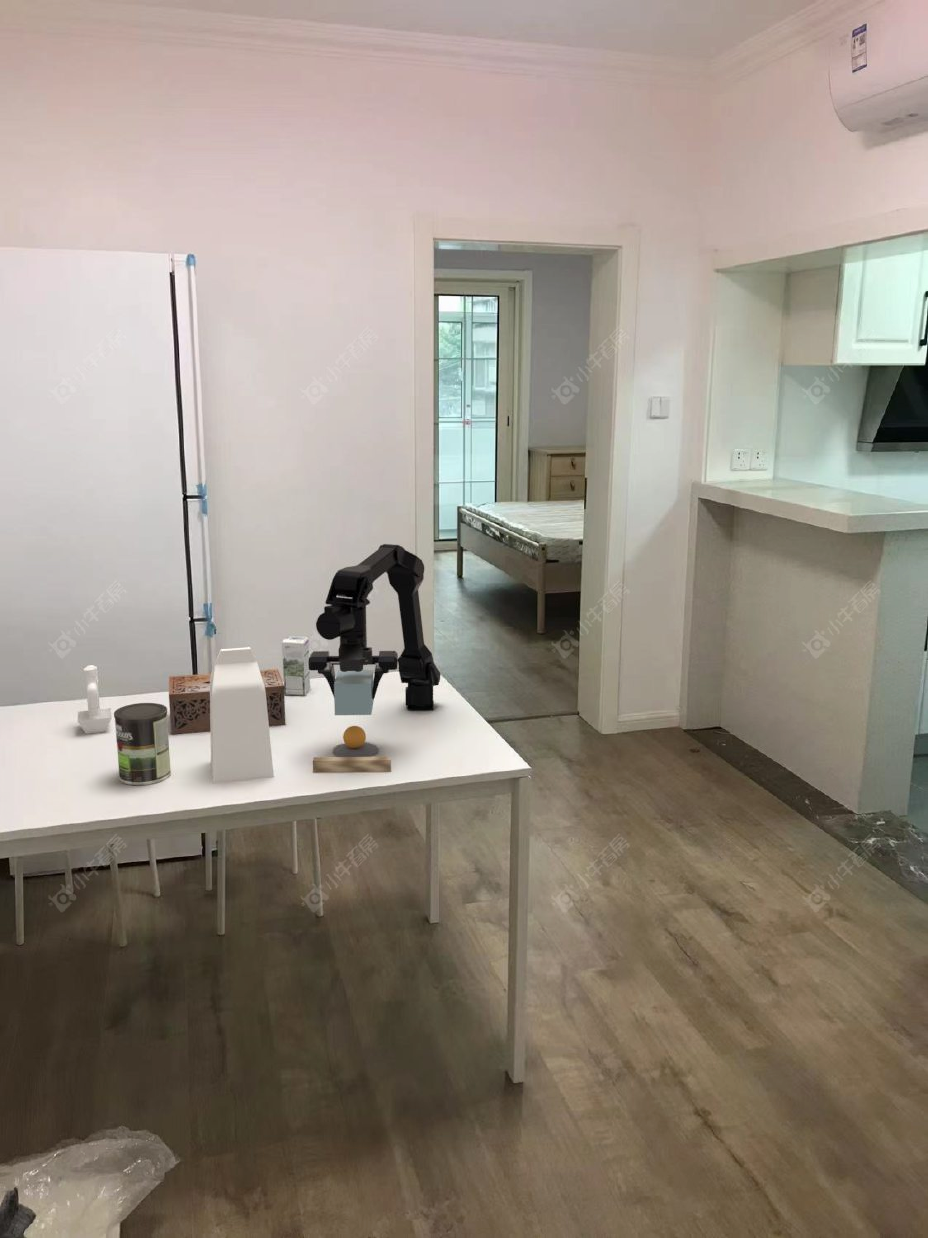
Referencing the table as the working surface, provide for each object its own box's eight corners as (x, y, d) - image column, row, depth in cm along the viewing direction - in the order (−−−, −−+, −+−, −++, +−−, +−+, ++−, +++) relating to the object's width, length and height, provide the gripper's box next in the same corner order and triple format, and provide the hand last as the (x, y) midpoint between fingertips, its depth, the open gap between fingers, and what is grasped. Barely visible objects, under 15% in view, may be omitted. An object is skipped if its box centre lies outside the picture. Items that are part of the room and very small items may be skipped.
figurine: (79, 738, 225) (73, 674, 222) (79, 725, 234) (73, 663, 230) (112, 734, 228) (107, 671, 224) (111, 721, 236) (106, 660, 233)
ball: (363, 744, 216) (366, 751, 221) (365, 723, 218) (367, 730, 223) (340, 744, 216) (343, 751, 221) (342, 722, 218) (345, 729, 223)
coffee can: (133, 790, 197) (128, 722, 194) (110, 775, 204) (104, 710, 201) (181, 776, 204) (176, 710, 201) (156, 762, 211) (152, 699, 208)
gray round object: (379, 742, 223) (379, 741, 223) (377, 759, 214) (377, 758, 214) (334, 742, 223) (334, 742, 223) (330, 759, 213) (330, 758, 213)
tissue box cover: (171, 736, 228) (168, 694, 225) (171, 716, 241) (169, 676, 239) (285, 726, 235) (283, 685, 232) (279, 707, 248) (278, 668, 246)
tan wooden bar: (390, 767, 209) (390, 756, 208) (390, 771, 207) (390, 760, 206) (314, 768, 208) (313, 757, 208) (313, 772, 206) (312, 760, 206)
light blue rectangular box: (373, 699, 222) (373, 669, 220) (371, 714, 211) (370, 684, 209) (339, 699, 222) (338, 670, 220) (334, 715, 211) (334, 684, 209)
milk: (213, 783, 201) (206, 658, 195) (210, 762, 212) (203, 644, 206) (273, 776, 204) (268, 654, 198) (268, 756, 215) (263, 640, 209)
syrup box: (311, 689, 261) (309, 636, 258) (305, 696, 255) (303, 641, 252) (289, 688, 262) (287, 635, 258) (283, 695, 256) (281, 641, 253)
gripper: (304, 638, 204) (306, 711, 207) (395, 638, 204) (396, 710, 208) (310, 625, 215) (312, 694, 218) (397, 625, 215) (398, 694, 219)
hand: (354, 698), depth 216 cm, fingers closed on light blue rectangular box, 8 cm apart
